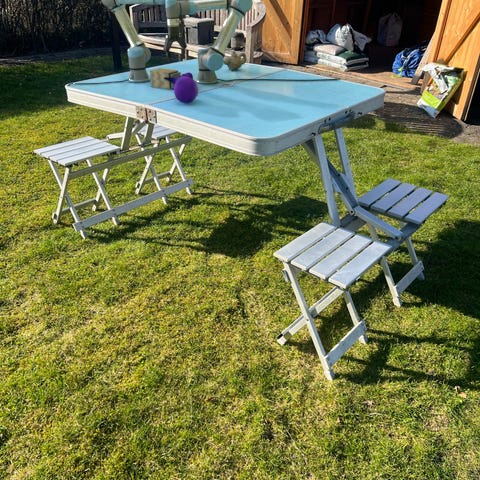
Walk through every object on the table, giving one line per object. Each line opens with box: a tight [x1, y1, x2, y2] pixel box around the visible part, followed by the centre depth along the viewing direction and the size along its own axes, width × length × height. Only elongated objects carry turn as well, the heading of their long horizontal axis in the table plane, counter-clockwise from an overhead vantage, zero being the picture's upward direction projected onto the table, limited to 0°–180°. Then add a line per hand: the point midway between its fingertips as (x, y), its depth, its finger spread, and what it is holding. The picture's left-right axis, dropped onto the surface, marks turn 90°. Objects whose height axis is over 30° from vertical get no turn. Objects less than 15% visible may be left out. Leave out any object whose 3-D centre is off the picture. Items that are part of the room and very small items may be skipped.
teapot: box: [223, 50, 247, 72], centre depth 367 cm, size 21×12×15 cm, turn 120°
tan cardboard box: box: [149, 67, 179, 90], centre depth 317 cm, size 18×10×11 cm, turn 56°
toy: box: [164, 72, 199, 104], centre depth 277 cm, size 16×18×27 cm
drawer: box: [169, 71, 182, 89], centre depth 314 cm, size 22×9×9 cm, turn 56°
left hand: (182, 44), depth 336 cm, fingers open, 13 cm apart
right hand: (176, 60), depth 303 cm, fingers open, 13 cm apart
